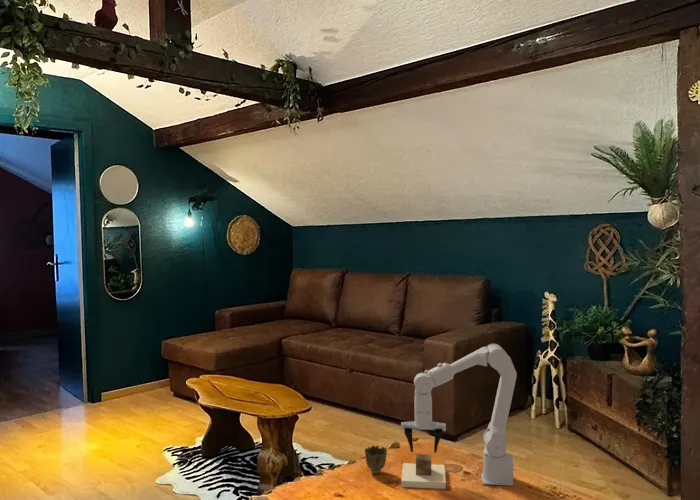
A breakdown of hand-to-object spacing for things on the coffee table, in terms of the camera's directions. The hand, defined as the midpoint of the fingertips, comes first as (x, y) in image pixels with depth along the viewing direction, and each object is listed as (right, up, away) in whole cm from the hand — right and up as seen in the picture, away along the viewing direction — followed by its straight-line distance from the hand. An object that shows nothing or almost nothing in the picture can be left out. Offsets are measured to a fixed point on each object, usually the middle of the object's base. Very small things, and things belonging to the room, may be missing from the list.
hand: (423, 451), depth 199 cm
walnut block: (0, -7, +1) cm, 7 cm away
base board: (0, -9, 0) cm, 9 cm away
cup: (-15, -9, +5) cm, 19 cm away
